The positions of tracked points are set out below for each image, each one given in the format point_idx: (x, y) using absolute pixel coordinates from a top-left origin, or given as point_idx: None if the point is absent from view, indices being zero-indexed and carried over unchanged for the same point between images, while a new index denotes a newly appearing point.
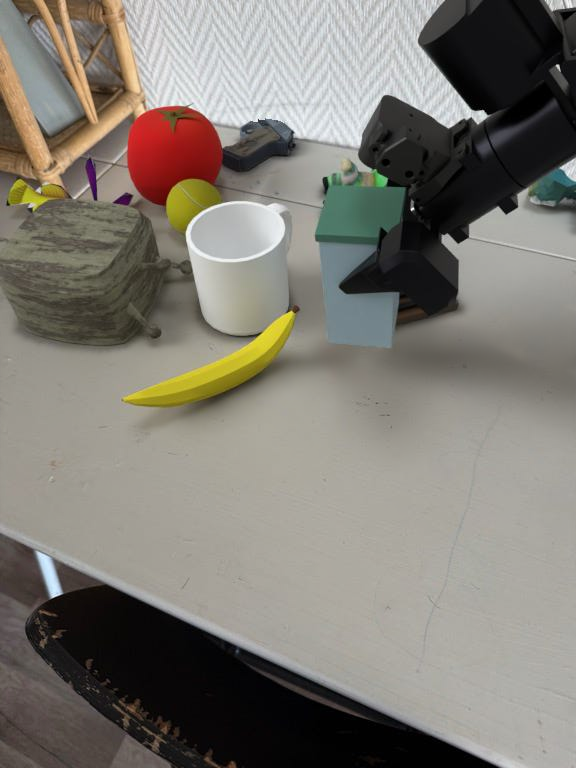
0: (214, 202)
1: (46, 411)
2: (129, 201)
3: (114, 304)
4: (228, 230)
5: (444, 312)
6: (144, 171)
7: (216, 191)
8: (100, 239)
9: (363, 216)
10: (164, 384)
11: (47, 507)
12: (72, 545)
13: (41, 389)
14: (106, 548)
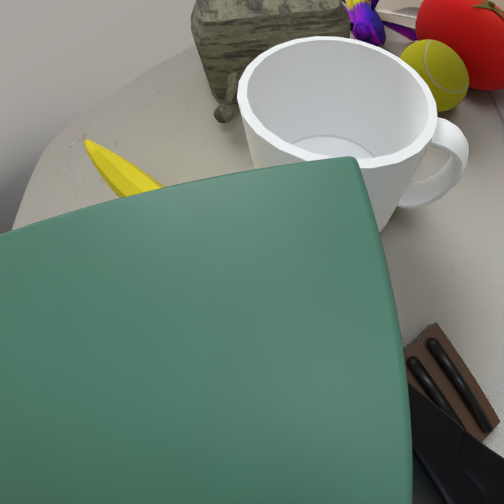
0: (445, 82)
1: (130, 100)
2: (415, 39)
3: (210, 60)
4: (386, 98)
5: None
6: (424, 14)
7: (462, 80)
8: (265, 1)
9: (13, 499)
10: (113, 162)
11: (53, 157)
12: (29, 191)
13: (152, 84)
14: (25, 213)
